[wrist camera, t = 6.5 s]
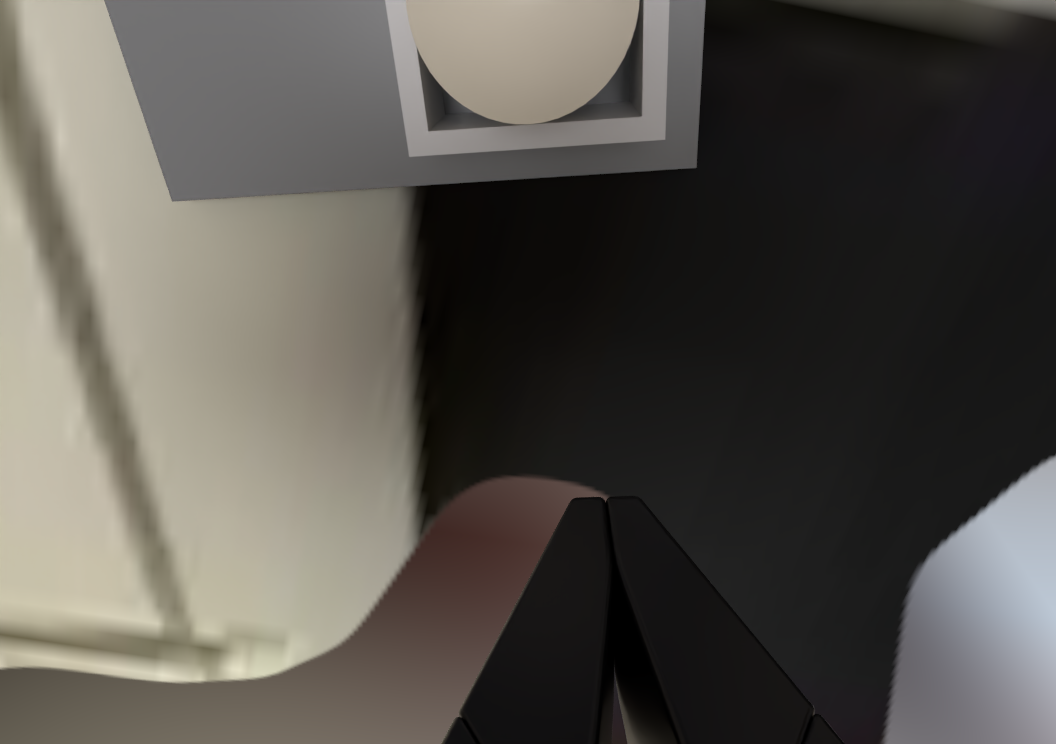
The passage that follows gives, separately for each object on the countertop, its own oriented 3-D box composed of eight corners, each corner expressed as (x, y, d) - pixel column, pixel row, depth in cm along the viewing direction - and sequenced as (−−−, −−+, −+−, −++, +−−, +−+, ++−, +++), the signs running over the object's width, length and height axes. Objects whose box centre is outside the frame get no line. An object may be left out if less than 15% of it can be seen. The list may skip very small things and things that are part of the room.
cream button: (623, -126, 13) (641, -159, 10) (623, 96, 15) (638, 116, 12) (420, -107, 13) (385, -135, 10) (446, 109, 15) (423, 131, 12)
